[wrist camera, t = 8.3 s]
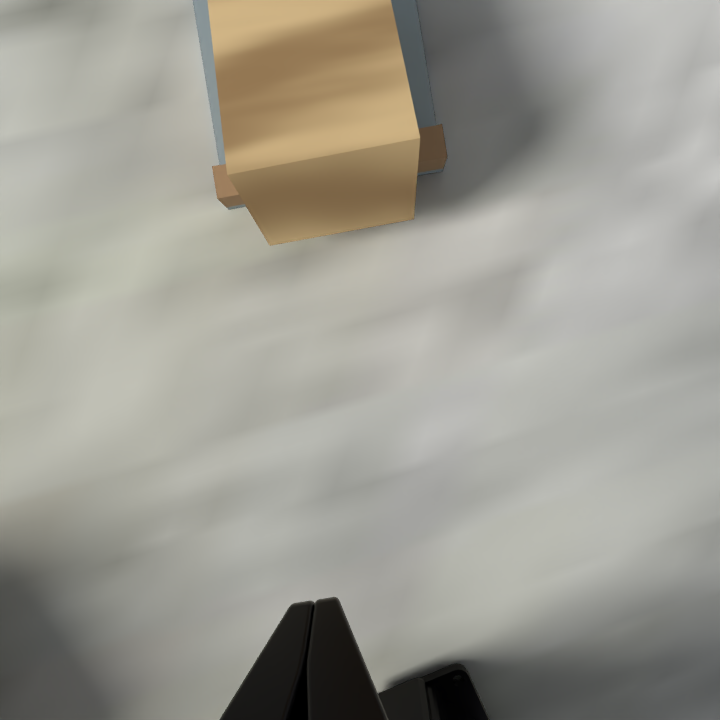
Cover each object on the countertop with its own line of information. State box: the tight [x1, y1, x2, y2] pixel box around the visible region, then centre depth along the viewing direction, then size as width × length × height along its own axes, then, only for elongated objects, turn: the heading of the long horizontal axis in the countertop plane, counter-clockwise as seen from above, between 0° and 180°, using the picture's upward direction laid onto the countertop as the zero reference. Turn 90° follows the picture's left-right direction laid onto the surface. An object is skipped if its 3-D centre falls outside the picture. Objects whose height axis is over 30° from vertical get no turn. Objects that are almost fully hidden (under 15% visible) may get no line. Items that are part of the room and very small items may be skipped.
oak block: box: [207, 0, 420, 246], centre depth 18 cm, size 5×6×10 cm
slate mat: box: [193, 0, 447, 209], centre depth 21 cm, size 12×10×2 cm
